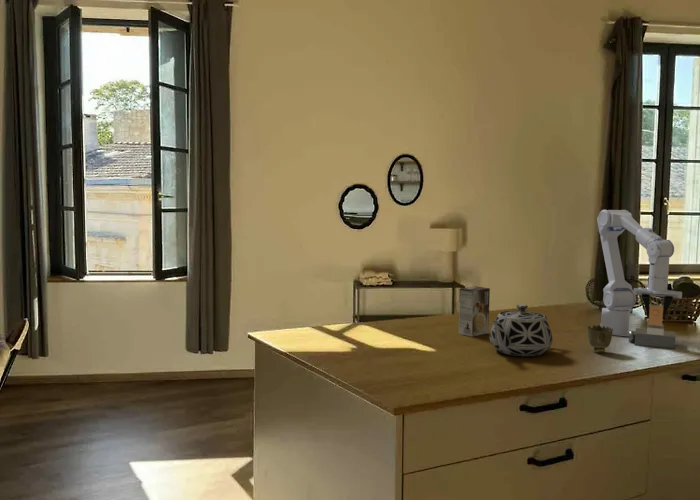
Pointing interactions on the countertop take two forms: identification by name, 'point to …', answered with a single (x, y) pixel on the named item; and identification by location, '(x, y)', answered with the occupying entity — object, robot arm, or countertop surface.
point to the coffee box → (474, 311)
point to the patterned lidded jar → (521, 332)
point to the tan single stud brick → (656, 315)
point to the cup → (599, 337)
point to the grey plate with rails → (653, 337)
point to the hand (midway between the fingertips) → (655, 318)
